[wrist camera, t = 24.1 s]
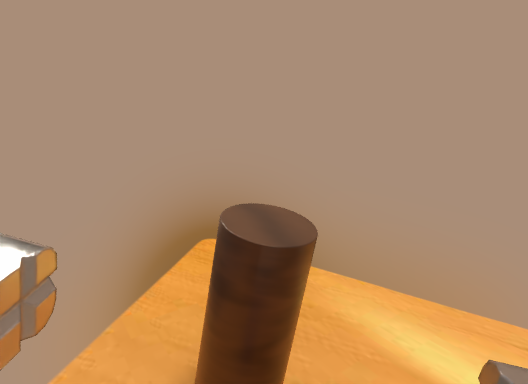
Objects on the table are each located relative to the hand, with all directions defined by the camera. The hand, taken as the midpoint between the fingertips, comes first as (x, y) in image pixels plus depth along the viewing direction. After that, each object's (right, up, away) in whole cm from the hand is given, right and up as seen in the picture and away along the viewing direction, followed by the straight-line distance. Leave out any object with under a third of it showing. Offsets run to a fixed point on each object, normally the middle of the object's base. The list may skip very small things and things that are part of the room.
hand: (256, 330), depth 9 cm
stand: (-2, -16, +34) cm, 38 cm away
